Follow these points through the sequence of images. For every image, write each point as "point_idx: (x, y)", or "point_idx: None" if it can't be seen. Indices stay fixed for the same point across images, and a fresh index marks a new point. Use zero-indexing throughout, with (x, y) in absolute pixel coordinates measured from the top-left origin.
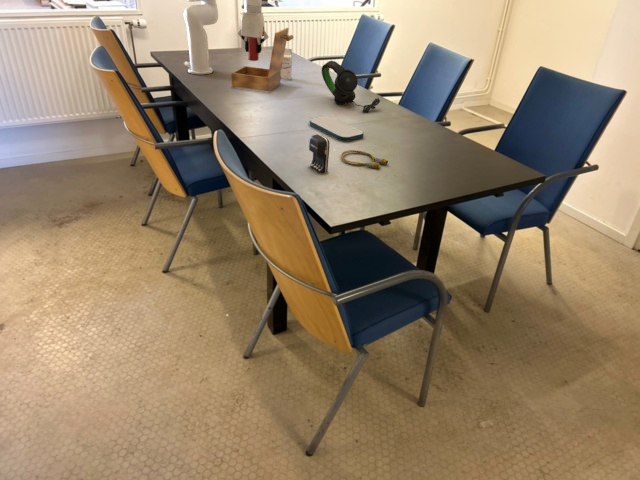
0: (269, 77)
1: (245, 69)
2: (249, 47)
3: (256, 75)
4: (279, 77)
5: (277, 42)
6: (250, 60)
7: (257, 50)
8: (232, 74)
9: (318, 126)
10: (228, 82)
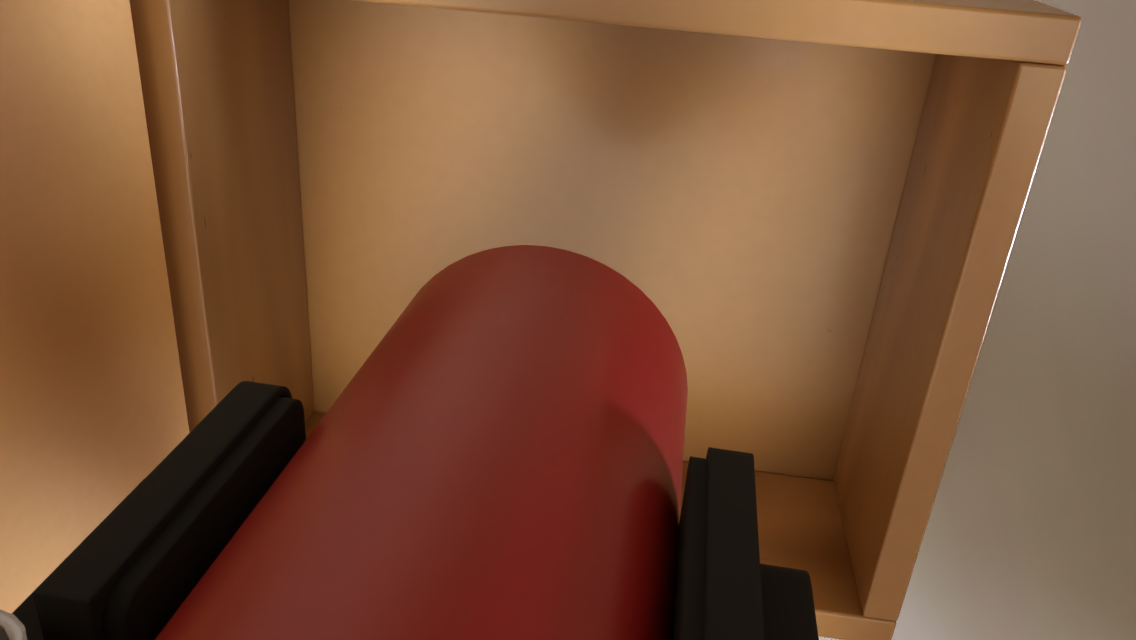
0: (134, 2)
1: (859, 566)
2: (536, 488)
3: None
4: None
5: None
6: (574, 253)
7: (220, 434)
8: (1039, 8)
9: None
10: (1106, 302)
